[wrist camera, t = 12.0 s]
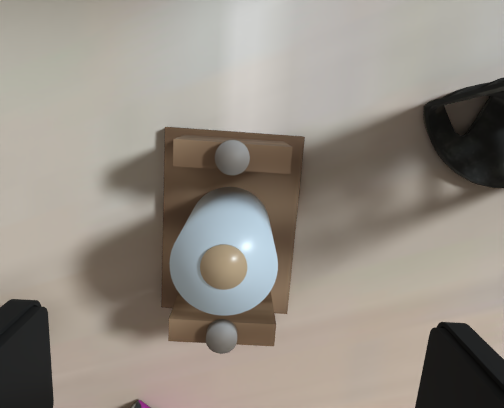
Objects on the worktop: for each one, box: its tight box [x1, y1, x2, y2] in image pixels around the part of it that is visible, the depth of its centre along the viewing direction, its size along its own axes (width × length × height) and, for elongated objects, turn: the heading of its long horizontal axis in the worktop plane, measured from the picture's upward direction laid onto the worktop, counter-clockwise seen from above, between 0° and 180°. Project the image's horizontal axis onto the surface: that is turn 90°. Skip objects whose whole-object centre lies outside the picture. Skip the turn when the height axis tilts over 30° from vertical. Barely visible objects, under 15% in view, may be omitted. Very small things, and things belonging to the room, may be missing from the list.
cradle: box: [161, 127, 305, 354], centre depth 27 cm, size 14×10×7 cm
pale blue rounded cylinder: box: [170, 187, 278, 316], centre depth 25 cm, size 6×6×8 cm
